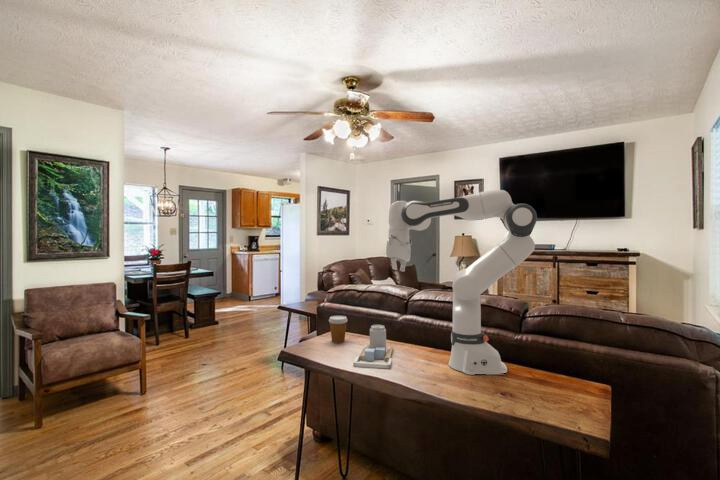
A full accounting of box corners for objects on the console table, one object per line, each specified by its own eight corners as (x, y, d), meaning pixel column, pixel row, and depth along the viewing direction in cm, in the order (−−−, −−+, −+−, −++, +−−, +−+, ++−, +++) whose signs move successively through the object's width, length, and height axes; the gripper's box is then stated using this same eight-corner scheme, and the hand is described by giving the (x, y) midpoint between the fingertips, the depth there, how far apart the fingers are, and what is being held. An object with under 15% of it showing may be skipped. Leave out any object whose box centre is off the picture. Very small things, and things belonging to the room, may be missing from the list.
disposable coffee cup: (347, 344, 177) (347, 319, 176) (327, 344, 177) (327, 319, 177) (348, 338, 186) (348, 315, 186) (329, 338, 186) (329, 315, 186)
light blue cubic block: (375, 357, 157) (375, 348, 157) (373, 361, 153) (373, 351, 153) (366, 357, 158) (366, 348, 158) (364, 360, 154) (364, 351, 154)
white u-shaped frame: (391, 361, 152) (391, 358, 152) (389, 368, 144) (389, 364, 144) (357, 359, 155) (357, 356, 155) (353, 366, 147) (353, 362, 147)
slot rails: (393, 349, 168) (393, 346, 168) (389, 361, 152) (389, 357, 152) (365, 348, 170) (365, 344, 170) (359, 359, 155) (359, 356, 154)
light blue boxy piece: (385, 356, 159) (385, 347, 159) (384, 359, 156) (384, 350, 155) (376, 355, 160) (376, 346, 160) (375, 358, 156) (375, 349, 156)
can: (367, 353, 163) (367, 327, 162) (373, 348, 169) (372, 323, 169) (383, 355, 160) (383, 328, 160) (388, 350, 167) (388, 324, 166)
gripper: (397, 233, 144) (396, 267, 142) (413, 241, 162) (413, 272, 160) (382, 234, 147) (382, 267, 145) (399, 242, 165) (399, 272, 163)
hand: (398, 270), depth 152 cm, fingers open, 8 cm apart
